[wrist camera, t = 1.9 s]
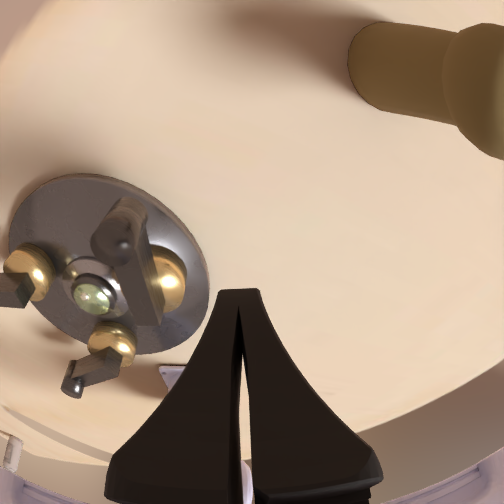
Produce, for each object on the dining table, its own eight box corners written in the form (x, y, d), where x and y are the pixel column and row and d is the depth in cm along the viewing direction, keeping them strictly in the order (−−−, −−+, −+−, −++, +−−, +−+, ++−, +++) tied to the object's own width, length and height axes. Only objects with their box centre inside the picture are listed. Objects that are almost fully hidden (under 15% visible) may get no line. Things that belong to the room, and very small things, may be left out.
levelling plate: (220, 347, 28) (220, 373, 25) (62, 341, 27) (53, 362, 25) (194, 157, 17) (186, 175, 15) (-12, 193, 17) (-32, 211, 14)
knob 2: (111, 314, 23) (94, 364, 19) (147, 343, 25) (137, 392, 21) (63, 341, 25) (48, 382, 21) (94, 364, 28) (83, 404, 23)
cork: (326, 53, 14) (449, 55, 5) (397, 6, 11) (539, -5, 2) (384, 131, 16) (506, 219, 7) (445, 84, 14) (579, 138, 5)
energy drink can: (17, 439, 68) (9, 470, 56) (7, 433, 64) (-1, 465, 52) (26, 443, 68) (19, 475, 55) (16, 436, 64) (8, 469, 52)
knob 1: (43, 240, 18) (9, 286, 14) (63, 285, 21) (38, 332, 17) (-21, 247, 18) (-51, 284, 14) (-2, 284, 21) (-26, 323, 16)
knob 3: (191, 293, 22) (183, 350, 18) (136, 294, 22) (119, 348, 17) (171, 178, 17) (148, 224, 12) (103, 186, 16) (66, 231, 12)
